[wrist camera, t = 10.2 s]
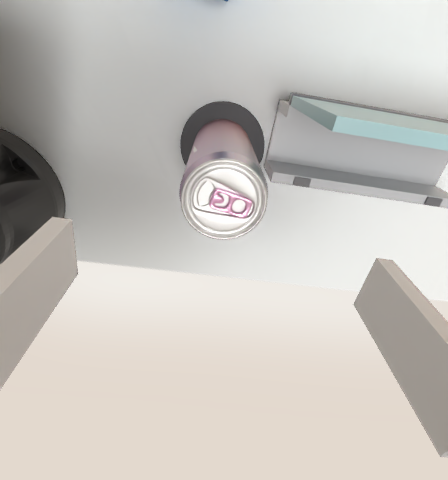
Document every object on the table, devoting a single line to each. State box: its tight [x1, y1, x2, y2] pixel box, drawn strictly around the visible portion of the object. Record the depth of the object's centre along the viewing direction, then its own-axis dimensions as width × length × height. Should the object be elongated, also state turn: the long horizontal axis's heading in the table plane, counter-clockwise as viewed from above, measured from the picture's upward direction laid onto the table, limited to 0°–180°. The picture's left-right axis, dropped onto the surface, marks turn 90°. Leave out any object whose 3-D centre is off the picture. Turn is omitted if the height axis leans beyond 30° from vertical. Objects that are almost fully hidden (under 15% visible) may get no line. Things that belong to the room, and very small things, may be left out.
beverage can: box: [180, 119, 268, 239], centre depth 26 cm, size 6×6×15 cm
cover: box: [289, 92, 448, 151], centre depth 22 cm, size 20×12×1 cm
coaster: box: [181, 101, 264, 165], centre depth 32 cm, size 9×9×1 cm
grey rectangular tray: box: [264, 100, 448, 208], centre depth 31 cm, size 20×7×5 cm, turn 81°
